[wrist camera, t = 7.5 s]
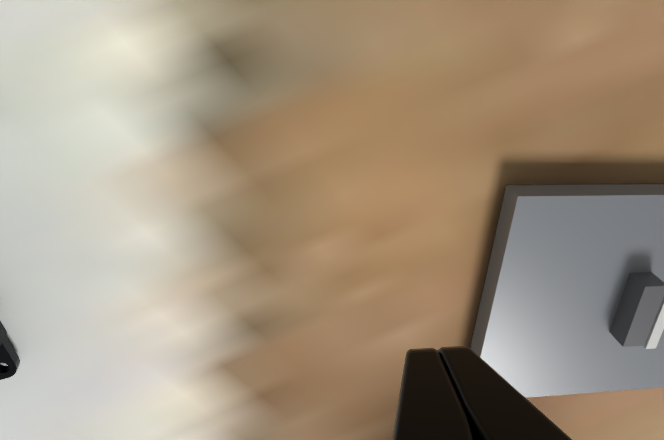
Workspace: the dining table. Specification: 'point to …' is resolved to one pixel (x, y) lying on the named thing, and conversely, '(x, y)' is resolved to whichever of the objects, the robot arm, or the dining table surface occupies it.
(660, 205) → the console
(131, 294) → the dining table surface
